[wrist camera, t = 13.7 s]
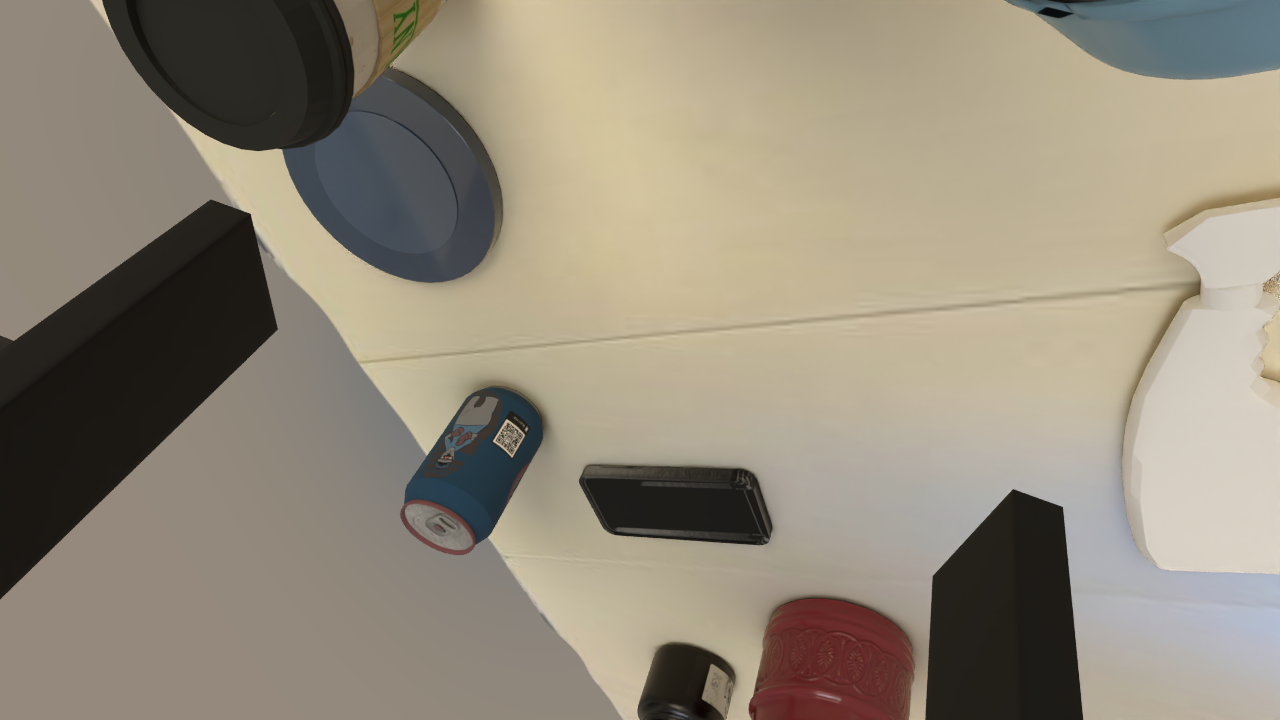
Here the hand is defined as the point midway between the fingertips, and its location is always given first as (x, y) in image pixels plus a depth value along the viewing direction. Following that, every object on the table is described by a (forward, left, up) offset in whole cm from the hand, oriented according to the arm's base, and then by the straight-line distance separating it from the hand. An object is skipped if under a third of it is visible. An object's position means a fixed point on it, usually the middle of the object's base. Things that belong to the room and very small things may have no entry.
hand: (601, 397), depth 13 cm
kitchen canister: (+53, +20, -29) cm, 64 cm away
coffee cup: (+5, -20, -29) cm, 36 cm away
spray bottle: (+15, +28, -29) cm, 43 cm away
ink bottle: (+69, +10, -29) cm, 75 cm away
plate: (+20, -22, -29) cm, 41 cm away
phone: (+42, +2, -29) cm, 51 cm away
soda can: (+39, -13, -29) cm, 50 cm away
